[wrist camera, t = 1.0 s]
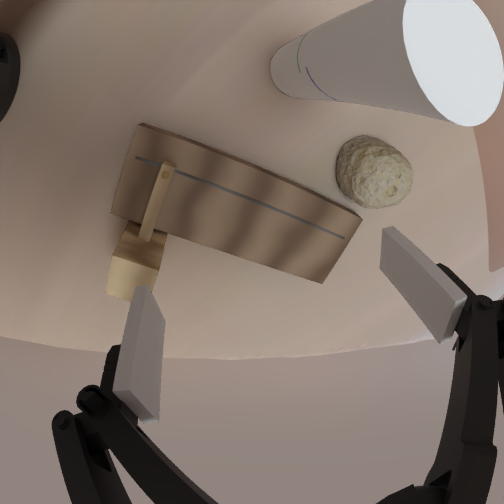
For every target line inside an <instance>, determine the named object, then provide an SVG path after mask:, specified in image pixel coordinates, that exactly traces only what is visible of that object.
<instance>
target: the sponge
mask: <svg viewBox="0 0 504 504" xmlns="http://www.w3.org/2000/svg"><path fill="white" fill-rule="evenodd" d="M336 172H337V181H338V183H339V185H340V189H341V190H342V191H343V192H344V193H345V195H346V196H348V197H350V198H351V199H353V200H354V201H355V202H356V203H358V204H359V205H360V206H363V207H364V208H368V209H373V208H376V209H379V208H384V207H389V206H392V205H397V204H399V203H400V202H401V201H402V200H403V199H404V197H405V196H406V195H407V194H408V193H409V192H410V190H411V186H412V178H413V169H412V167H411V164H410V163H409V161H408V160H407V158H405V157H404V156H403V155H402V153H401V152H400V151H398V150H396V148H394V147H393V146H391V145H389V144H387V143H385V142H383V141H380V140H379V139H375V138H370V137H369V136H364V135H363V136H359V137H356V138H354V139H352V140H351V141H349V142H347V143H346V144H345V145H344V146H343V147H342V149H341V151H340V154H339V158H338V160H337V166H336Z"/></svg>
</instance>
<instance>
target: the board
mask: <svg viewBox="0 0 504 504" xmlns="http://www.w3.org/2000/svg"><path fill="white" fill-rule="evenodd" d="M164 161H167V162H170V163H173V164H175V165H176V168H175V171H174V173H173V176H172V178H171V181H170V184H169V186H168V189H167V192H166V195H165V197H164V200H163V203H162V206H161V209H160V211H159V214H158V217H157V220H156V223H155V226H154V229H157V230H160V231H163V232H166V233H169V234H172V235H175V236H178V237H181V238H184V239H187V240H190V241H193V242H196V243H199V244H202V245H205V246H208V247H211V248H214V249H217V250H220V251H223V252H226V253H229V254H232V255H235V256H238V257H241V258H244V259H247V260H250V261H253V262H256V263H259V264H262V265H265V266H268V267H271V268H274V269H277V270H280V271H284V272H287V273H290V274H293V275H296V276H299V277H302V278H305V279H308V280H311V281H314V282H317V283H320V284H323V282H324V281H325V279H326V278H327V276H328V275H329V273H330V271H331V270H332V268H333V267H334V265H335V264H336V262H337V261H338V259H339V257H340V256H341V254H342V253H343V251H344V249H345V248H346V246H347V245H348V243H349V241H350V240H351V238H352V237H353V235H354V233H355V232H356V230H357V228H358V227H359V225H360V223H361V222H362V220H363V219H362V218H361V217H360V216H359V215H358V214H356V213H355V212H354V211H352V210H350V209H348V208H346V207H344V206H342V205H340V204H338V203H336V202H334V201H332V200H330V199H328V198H326V197H324V196H322V195H320V194H318V193H315V192H313V191H311V190H309V189H307V188H305V187H303V186H301V185H298V184H296V183H294V182H292V181H290V180H288V179H285V178H283V177H281V176H279V175H276V174H274V173H272V172H270V171H267V170H265V169H263V168H260V167H258V166H256V165H253V164H251V163H249V162H246V161H244V160H241V159H239V158H237V157H234V156H232V155H229V154H227V153H224V152H222V151H219V150H217V149H214V148H212V147H209V146H206V145H204V144H201V143H198V142H196V141H193V140H190V139H188V138H185V137H182V136H180V135H177V134H174V133H171V132H168V131H165V130H163V129H160V128H157V127H154V126H151V125H148V124H145V123H141V124H139V125H138V126H137V129H136V132H135V134H134V137H133V140H132V143H131V146H130V149H129V152H128V155H127V158H126V161H125V164H124V167H123V170H122V174H121V177H120V180H119V184H118V187H117V191H116V194H115V198H114V202H113V206H112V209H111V213H110V214H113V215H116V216H119V217H122V218H125V219H128V220H131V221H133V222H136V223H139V224H142V222H143V219H144V216H145V213H146V210H147V207H148V204H149V201H150V198H151V195H152V192H153V189H154V186H155V183H156V180H157V177H158V175H159V172H160V169H161V166H162V164H163V162H164Z"/></svg>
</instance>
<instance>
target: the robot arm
mask: <svg viewBox="0 0 504 504" xmlns="http://www.w3.org/2000/svg"><path fill="white" fill-rule="evenodd" d="M19 72H20V57H19V52H18V48H17V46H16V43H15V42H14V40H13V39H12V38H11V37H10V36H9V35H7V34H4V33H0V121H1V120H2V118H3V117H4V115H5V114H6V112H7V110H8V109H9V107H10V105H11V102H12V100H13V98H14V95H15V92H16V88H17V84H18V79H19ZM380 269H381V271H382V272H383V273H384V274H385V275H386V277H387V278H388V279H389V280H390V281H391V283H392V284H393V285H394V286H395V287H396V289H397V290H398V291H399V292H400V293H401V295H402V296H403V297H404V298H405V300H406V301H407V302H408V303H409V305H410V306H411V307H412V309H413V310H414V311H415V312H416V314H417V315H418V316H419V318H420V319H421V320H422V321H423V323H424V324H425V325H426V327H427V328H428V329H429V331H430V332H431V333H432V335H433V336H434V337H435V339H436V340H437V342H438V343H439V344H442V343H444V342H446V341H448V340H450V339H451V338H452V336H453V334H454V331H456V332H457V334H458V337H457V340H456V342H455V344H454V346H453V349H452V350H455V347H456V355H455V364H454V372H453V380H452V387H451V393H450V399H449V405H448V409H447V415H446V419H445V424H444V428H443V433H442V437H441V441H440V445H439V448H438V452H437V455H436V459H435V462H434V464H433V466H432V468H431V470H430V471H429V473H428V475H427V477H426V480H425V483H424V485H423V486H416V487H414V485H413V484H412V485H410V486H408V487H406V488H404V489H402V490H400V491H398V492H395V493H393V494H391V495H388V496H387V497H385V498H384V499H382V500H381V501H379V502H378V503H376V504H485V503H486V500H487V497H488V493H489V489H490V485H491V481H492V477H493V473H494V468H495V462H496V458H497V447H496V446H494V445H493V434H494V427H495V419H496V408H497V395H498V381H499V387H500V392H501V398H502V405H503V412H504V298H503V300H498V301H492V300H491V299H490V298H489V297H487V296H484V295H476V294H475V293H474V292H473V291H472V290H471V289H470V288H469V287H468V286H467V285H466V284H465V283H464V282H463V281H462V280H461V279H459V277H458V276H457V275H456V274H454V272H453V271H451V270H450V269H449V268H448V267H446V266H445V265H443V264H441V263H439V264H435V263H434V262H433V261H432V260H431V259H429V258H428V257H427V256H426V255H425V254H424V253H423V252H422V251H421V250H420V249H419V248H418V247H416V246H415V245H414V244H413V243H412V242H411V241H410V240H409V239H408V238H406V237H405V236H404V235H403V234H402V233H401V232H400V231H398V230H397V229H396V228H395V227H394V226H391V227H387V228H383V229H382V244H381V258H380ZM164 332H165V319H164V317H163V315H162V313H161V311H160V309H159V307H158V305H157V303H156V301H155V298H154V296H153V294H152V292H151V290H150V288H149V286H148V284H147V285H142V286H138V287H135V289H134V293H133V297H132V301H131V305H130V309H129V313H128V317H127V321H126V326H125V330H124V334H123V339H122V343H121V344H120V345H114V346H112V347H111V349H110V351H109V352H108V354H107V357H106V361H105V366H104V372H103V375H102V380H101V385H100V387H99V386H97V385H88V386H86V387H84V388H83V389H82V390H81V391H80V392H79V394H78V396H77V400H76V403H77V407H78V408H79V409H80V410H81V411H83V412H81V413H78V414H76V415H73V414H72V413H71V412H69V411H66V410H63V411H60V412H58V413H57V414H56V415H55V416H54V418H53V420H52V431H53V436H54V441H55V445H56V450H57V454H58V458H59V462H60V466H61V470H62V474H63V477H64V481H65V484H66V487H67V490H68V493H69V496H70V499H71V502H72V504H132V503H131V501H130V499H129V497H128V495H127V493H126V490H125V488H124V486H123V484H122V482H121V479H120V477H119V475H118V473H117V470H116V468H115V466H114V463H113V461H112V458H111V456H110V453H109V451H108V449H110V450H111V451H112V452H113V454H114V455H115V456H116V458H117V459H118V460H119V462H120V463H121V464H122V466H123V467H124V468H125V469H126V471H127V472H128V473H129V474H130V476H131V477H132V478H133V479H134V481H135V482H136V483H137V484H138V485H139V487H140V488H141V489H142V490H143V491H144V492H145V493H146V495H147V496H148V497H149V498H150V499H151V500H152V501H153V502H154V503H155V504H218V503H217V502H216V501H215V500H214V499H212V498H211V497H210V496H209V495H207V494H206V493H205V492H204V491H203V490H201V489H200V488H199V487H198V486H197V485H195V483H194V482H193V481H191V480H190V479H189V478H188V477H187V476H186V475H185V474H184V473H183V472H182V471H181V470H180V469H179V468H178V467H177V466H175V464H174V463H173V462H171V460H169V459H168V457H166V455H165V454H164V453H163V452H162V451H161V450H160V449H159V448H158V447H157V446H156V445H155V444H154V443H153V442H152V441H151V440H150V438H149V437H148V436H147V435H146V434H145V433H144V432H143V431H142V430H141V428H140V427H139V426H138V425H137V424H138V418H139V419H140V420H141V421H142V422H143V423H156V422H159V411H160V387H161V370H162V356H163V344H164Z"/></svg>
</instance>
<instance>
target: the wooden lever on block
mask: <svg viewBox="0 0 504 504" xmlns="http://www.w3.org/2000/svg"><path fill="white" fill-rule="evenodd" d="M175 168H176V165H175V164H173V163H170V162H167V161H164V162H163V164H162V166H161V169H160V172H159V175H158V177H157V180H156V183H155V186H154V189H153V192H152V195H151V198H150V201H149V204H148V207H147V210H146V213H145V216H144V219H143V222H142V224H139V223H136V222H133V221H131V220H130V221H129V223H128V225H127V227H126V229H125V231H124V233H123V235H122V236H121V238H120V240H119V242H118V244H117V246H116V248H115V250H114V252H113V254H112V258H111V262H110V267H109V272H108V277H107V282H106V287H105V293H106V294H109V295H112V296H115V297H118V298H121V299H124V300H127V301H130V302H131V301H132V297H133V293H134V289H135V287H138V286H142V285H147V284H148V286H149V288H150V290H151V292H152V290H153V287H154V284H155V281H156V278H157V275H158V272H159V268H160V263H161V259H162V254H163V250H164V245H165V241H166V237H167V233H166V232H163V231H160V230H157V229H154V226H155V223H156V220H157V217H158V214H159V211H160V209H161V206H162V203H163V200H164V197H165V195H166V192H167V189H168V186H169V184H170V181H171V178H172V176H173V173H174V171H175Z"/></svg>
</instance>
